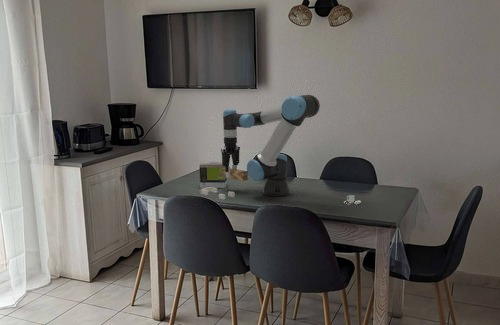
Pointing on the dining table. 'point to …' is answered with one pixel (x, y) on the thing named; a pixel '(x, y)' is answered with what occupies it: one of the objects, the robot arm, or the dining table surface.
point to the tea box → (212, 175)
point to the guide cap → (232, 194)
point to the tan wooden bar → (236, 174)
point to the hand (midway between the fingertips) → (231, 176)
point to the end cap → (208, 190)
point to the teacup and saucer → (352, 200)
